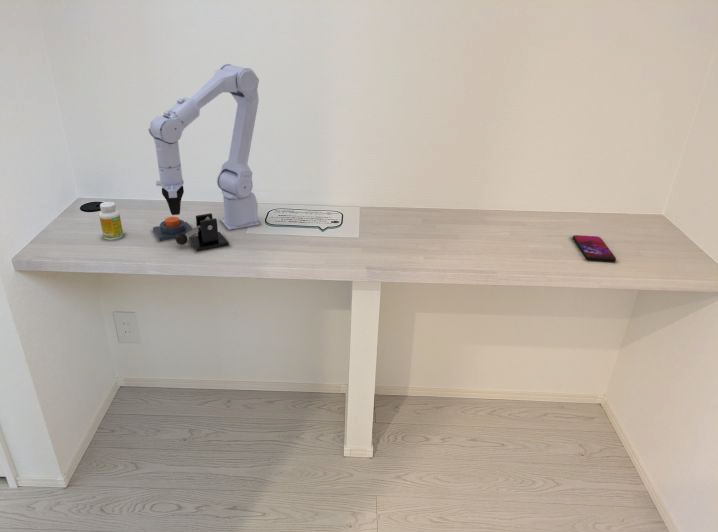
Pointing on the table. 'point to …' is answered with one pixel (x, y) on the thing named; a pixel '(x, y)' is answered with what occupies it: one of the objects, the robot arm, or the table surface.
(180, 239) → the switch lever
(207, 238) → the switch bracket
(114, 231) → the supplement bottle
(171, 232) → the button box
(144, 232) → the table surface
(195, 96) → the robot arm
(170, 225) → the button
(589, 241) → the smartphone
